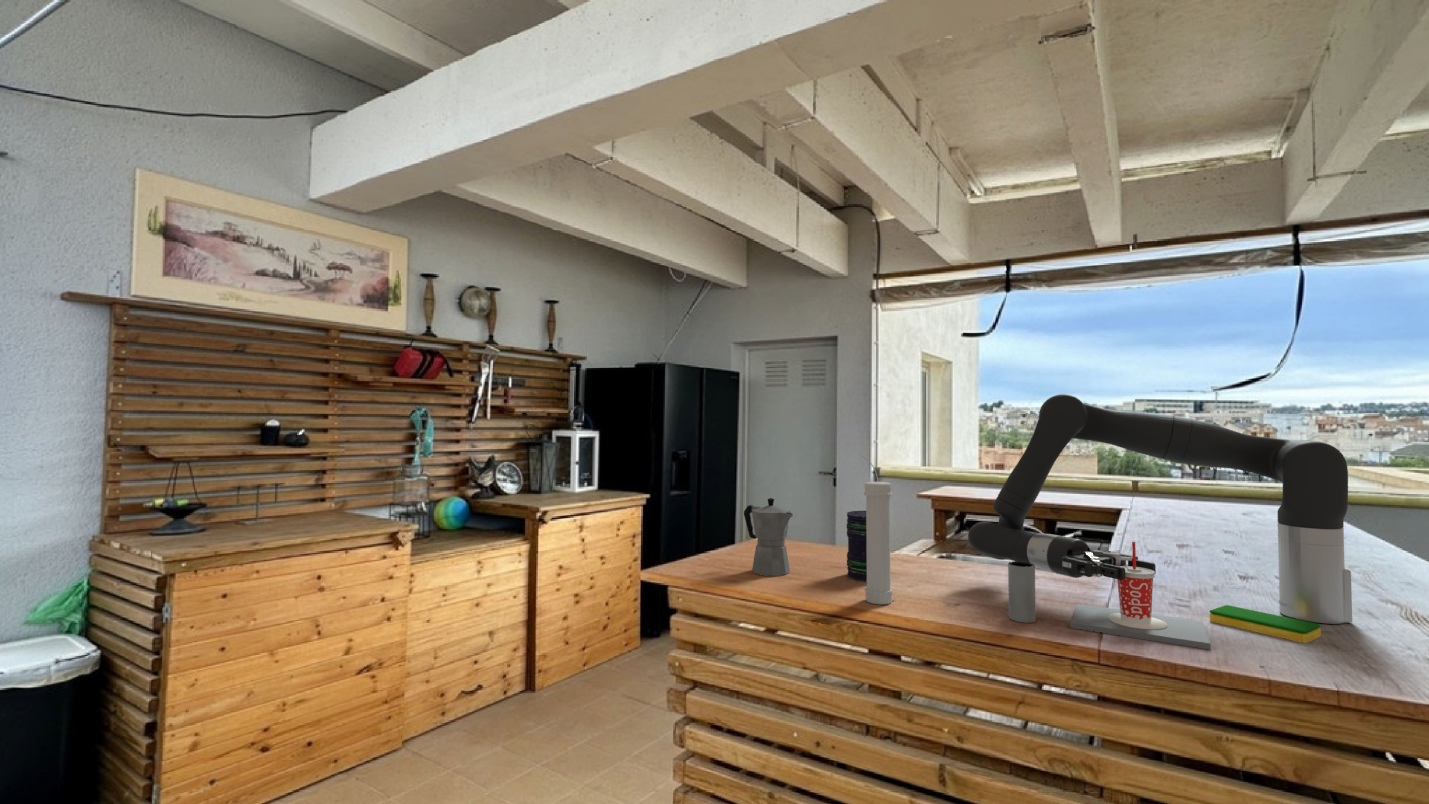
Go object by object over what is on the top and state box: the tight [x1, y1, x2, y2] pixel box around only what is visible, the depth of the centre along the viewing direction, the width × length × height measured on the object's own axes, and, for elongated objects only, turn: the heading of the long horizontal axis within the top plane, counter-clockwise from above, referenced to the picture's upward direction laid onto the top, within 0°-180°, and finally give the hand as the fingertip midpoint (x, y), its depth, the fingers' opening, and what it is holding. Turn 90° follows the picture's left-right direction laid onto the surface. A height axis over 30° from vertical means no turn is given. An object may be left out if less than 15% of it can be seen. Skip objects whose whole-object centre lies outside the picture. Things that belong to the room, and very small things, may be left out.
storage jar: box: [846, 510, 867, 583], centre depth 154 cm, size 10×10×15 cm
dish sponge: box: [1209, 604, 1322, 644], centre depth 116 cm, size 7×14×2 cm, turn 31°
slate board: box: [1069, 603, 1212, 651], centre depth 117 cm, size 20×14×1 cm
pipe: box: [860, 454, 893, 606], centre depth 133 cm, size 6×6×30 cm
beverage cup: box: [1116, 541, 1156, 624], centre depth 117 cm, size 6×6×14 cm
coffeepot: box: [743, 497, 793, 577], centre depth 160 cm, size 15×9×18 cm, turn 44°
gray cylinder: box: [1007, 560, 1037, 624], centre depth 121 cm, size 4×4×10 cm
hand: (1139, 571), depth 116 cm, fingers open, 8 cm apart
